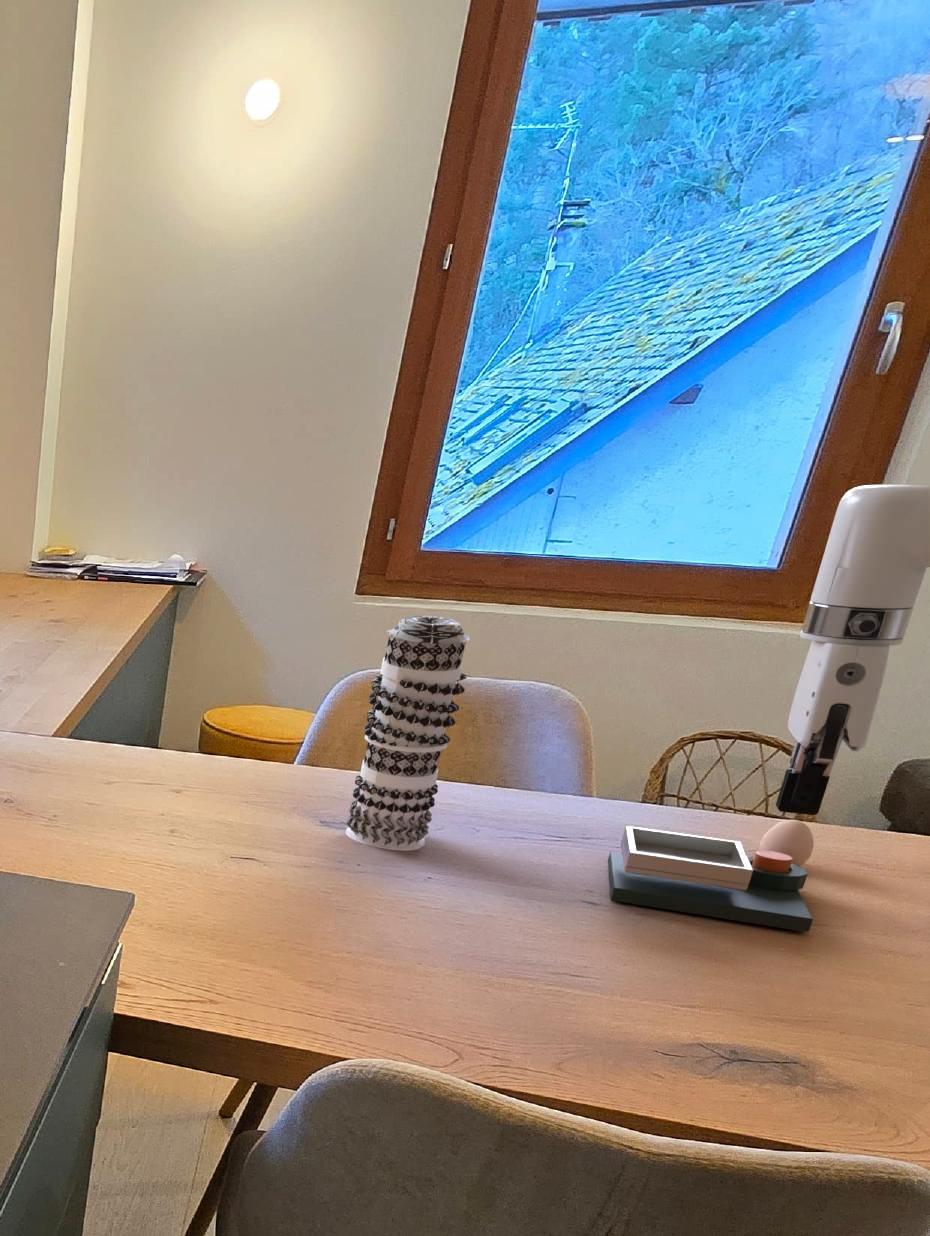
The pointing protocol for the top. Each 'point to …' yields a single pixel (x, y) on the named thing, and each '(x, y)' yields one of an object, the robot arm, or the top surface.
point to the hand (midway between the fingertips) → (796, 811)
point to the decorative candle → (407, 733)
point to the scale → (719, 895)
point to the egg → (789, 840)
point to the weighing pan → (686, 857)
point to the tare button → (772, 861)
